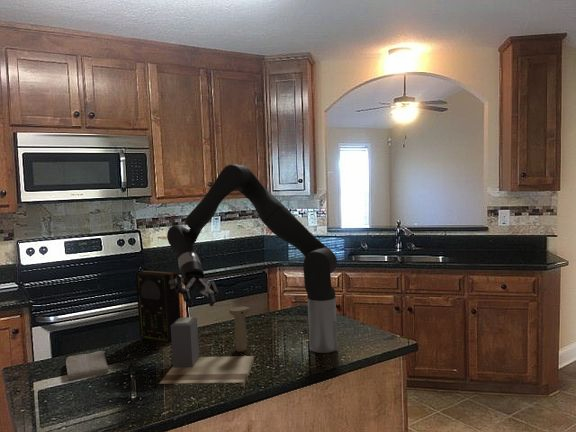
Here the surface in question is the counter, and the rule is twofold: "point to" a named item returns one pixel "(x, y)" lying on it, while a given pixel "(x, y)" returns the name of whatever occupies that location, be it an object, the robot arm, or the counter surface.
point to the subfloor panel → (212, 371)
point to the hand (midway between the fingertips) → (200, 303)
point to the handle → (240, 327)
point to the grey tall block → (185, 342)
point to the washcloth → (86, 365)
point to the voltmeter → (157, 304)
